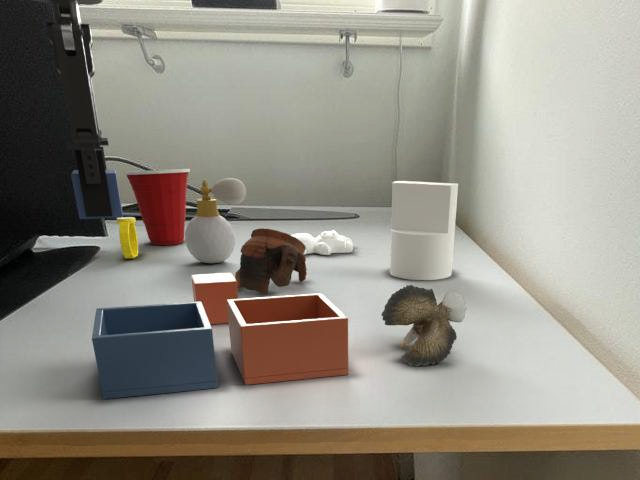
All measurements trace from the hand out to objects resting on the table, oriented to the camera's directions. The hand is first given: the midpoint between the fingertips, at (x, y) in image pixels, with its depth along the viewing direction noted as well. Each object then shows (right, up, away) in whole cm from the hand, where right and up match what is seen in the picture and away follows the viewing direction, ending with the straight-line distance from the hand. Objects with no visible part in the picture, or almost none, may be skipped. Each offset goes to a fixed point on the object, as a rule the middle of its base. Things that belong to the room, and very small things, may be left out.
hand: (100, 212), depth 74 cm
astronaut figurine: (+22, +8, +37) cm, 44 cm away
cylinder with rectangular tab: (+38, 0, +22) cm, 44 cm away
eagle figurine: (+35, -17, -9) cm, 41 cm away
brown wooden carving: (+18, -5, +14) cm, 23 cm away
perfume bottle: (+8, +4, +28) cm, 29 cm away
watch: (-7, +5, +30) cm, 32 cm away
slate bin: (+11, -21, -16) cm, 28 cm away
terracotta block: (+13, -12, 0) cm, 18 cm away
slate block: (0, 0, 0) cm, 0 cm away
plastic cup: (-5, +12, +43) cm, 45 cm away
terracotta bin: (+22, -19, -13) cm, 32 cm away
